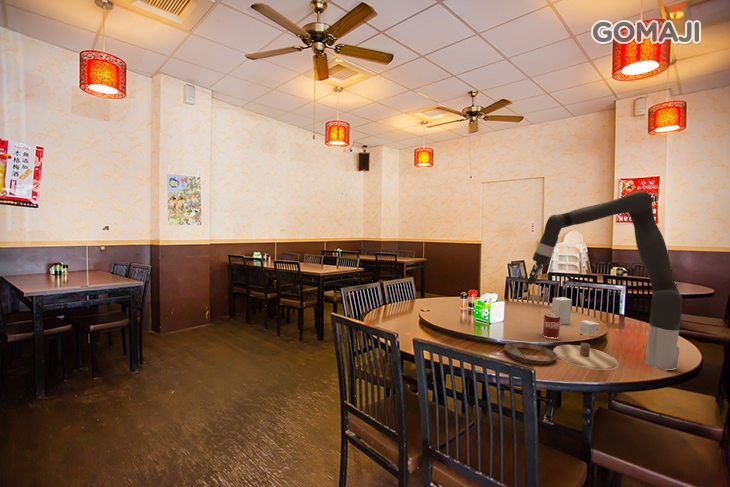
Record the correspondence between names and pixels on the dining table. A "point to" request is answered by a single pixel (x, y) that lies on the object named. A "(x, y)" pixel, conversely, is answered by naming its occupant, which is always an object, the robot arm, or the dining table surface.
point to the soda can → (551, 325)
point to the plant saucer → (516, 354)
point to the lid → (585, 356)
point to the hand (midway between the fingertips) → (531, 282)
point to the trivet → (587, 367)
